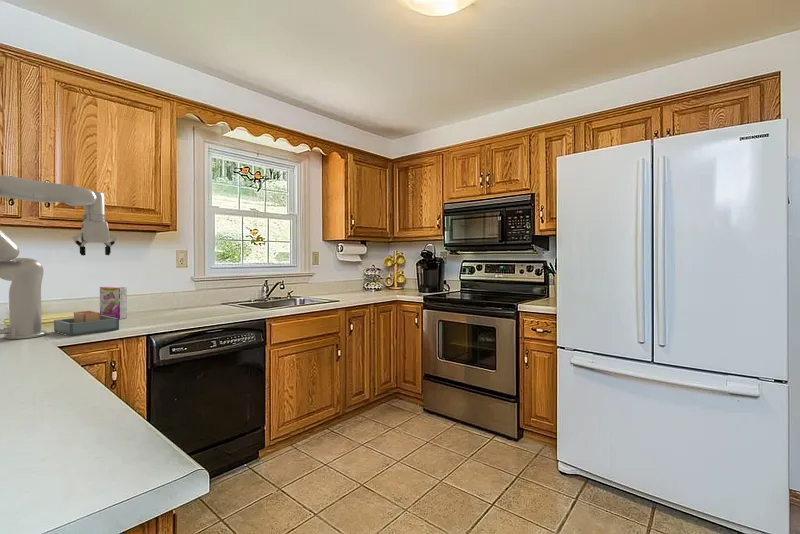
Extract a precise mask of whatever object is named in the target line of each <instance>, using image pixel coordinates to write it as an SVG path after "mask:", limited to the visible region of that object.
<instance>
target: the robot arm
mask: <svg viewBox="0 0 800 534" xmlns="http://www.w3.org/2000/svg"><path fill="white" fill-rule="evenodd" d="M0 198H5V199H6V198H8V199H15V200H20V201H21V200H23V201H31V202H37V203H64V204H65V205H68V206H71V207H84V208H83V210H84V214H80V219H83V221H82V223H81V231H80V233H78V234H76V235H73V236H72V237H71V239H72V240H73V241H74V243H75V244H76V245H78V247H79V254H80V256H86V247H85V246H86V244H89V243H90V244H91V243H92V244H93V243H97V244H104V245H105V246H104V253H105V254H104V255H105V256H110V254H111V253H112V251H111V250H112V249H111V248H112V246H113V245H115V242H116V241H117V240H118V239H117V237H115V236H114V235H111V234H110V230H109V225H108V221H105V219H106V216H105V215H106V213H105V195H104V193H103V192H101V191H93V190H91V189H90V188H87V187H86V188H85V187H80V186H77V185H76V186H74V185H68V184H61V183H53V182H48V181H40V180H34V179H30V178H29V179H28V178H22V177H18V176H17V177H16V176H13V175H6V174H5V175H3V174H0ZM79 238H80V240H81V241H80V240H79ZM110 239H111V241H110ZM19 255H20V248H19V245H17V244H16V242H15V241H14V240H12V239H11V238H10V237H9V236H8V235H7V234H6V233H5V232H4V231H3V230H2V229H1V228H0V279H1V280H3V281H8V282H11V283H10V286H9V289H8V309H9V310H8V311H9V312H8V314H9V315H8V316H9V321H8V322H9V325H6V327H4V328H0V335H4V337H3V338H4V339H7V340H20V339H21V340H22V339H24V340H25V339H30V338H31V339H33V338H38V337H42V336H43V337H44V336H46V335H47V331H46V330H43V329H42V283H43V282H42V281H43V277H44V267H43V265H42V263H40V262H39V260H36V259H33V258H30V257H18V256H19Z"/></svg>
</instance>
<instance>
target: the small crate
mask: <svg viewBox="0 0 800 534" xmlns="http://www.w3.org/2000/svg"><path fill="white" fill-rule="evenodd" d="M73 318H74V323H81V322H90V321H98V320H100V311H99V312H97V311H94V310H83V311H82V310H81V311H74V312H73Z"/></svg>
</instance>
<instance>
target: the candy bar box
mask: <svg viewBox="0 0 800 534" xmlns="http://www.w3.org/2000/svg"><path fill="white" fill-rule="evenodd" d="M127 311H128V310H127V287H126V286H111V285H109V286H100V287H99V313H100V315H105V316H109V317H114V318H119V321H121V320H124V319H127V315H128V314H127Z"/></svg>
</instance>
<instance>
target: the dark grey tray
mask: <svg viewBox="0 0 800 534" xmlns="http://www.w3.org/2000/svg"><path fill="white" fill-rule="evenodd" d="M53 325H54V327H53V332H54V331H55V332H54V333H57V332H59V333H58V334H60V333H63V334H62V335H64V334H66V335H65V336H67V335H69V336H68V337H75V336H76V337H77V336H82V334H83V335H89V334H97V333H98V334H99V333H104V332H105V333H106V332H110V331H111V332H112V331H119V330H120V320H119V318H114V317H109V316H105V315H100V320H98V321H90V322H81V323H74V317H72V318H62V319H61V318H60V319H54V320H53Z"/></svg>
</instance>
